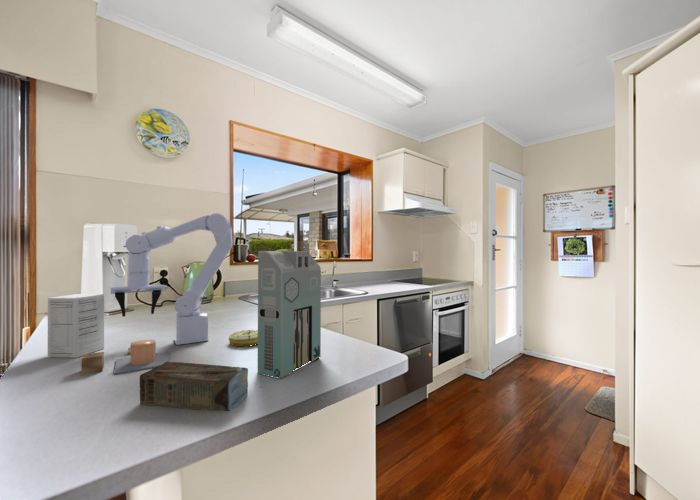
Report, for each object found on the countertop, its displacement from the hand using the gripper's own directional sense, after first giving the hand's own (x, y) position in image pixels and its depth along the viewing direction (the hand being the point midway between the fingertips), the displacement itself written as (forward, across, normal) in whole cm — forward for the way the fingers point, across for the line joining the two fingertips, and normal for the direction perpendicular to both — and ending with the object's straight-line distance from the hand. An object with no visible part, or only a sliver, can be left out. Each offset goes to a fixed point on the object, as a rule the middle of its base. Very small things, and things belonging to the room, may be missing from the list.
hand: (138, 314), depth 103 cm
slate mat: (+9, +1, -22) cm, 24 cm away
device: (+10, +33, -46) cm, 57 cm away
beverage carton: (+10, +9, -53) cm, 55 cm away
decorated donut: (+10, +30, -18) cm, 36 cm away
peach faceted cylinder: (+9, +1, -22) cm, 24 cm away
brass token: (+10, -1, -10) cm, 14 cm away
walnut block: (+10, -10, -22) cm, 26 cm away
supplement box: (+10, -15, -1) cm, 18 cm away
